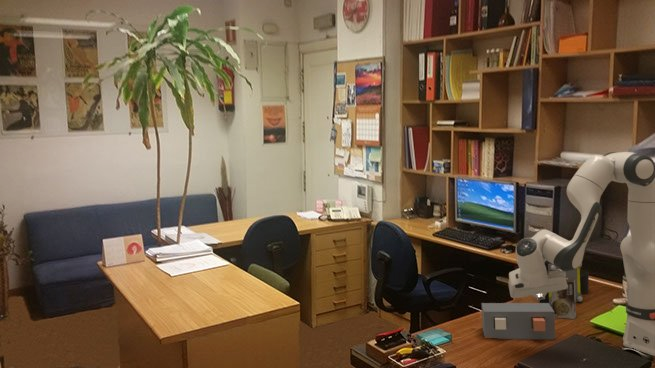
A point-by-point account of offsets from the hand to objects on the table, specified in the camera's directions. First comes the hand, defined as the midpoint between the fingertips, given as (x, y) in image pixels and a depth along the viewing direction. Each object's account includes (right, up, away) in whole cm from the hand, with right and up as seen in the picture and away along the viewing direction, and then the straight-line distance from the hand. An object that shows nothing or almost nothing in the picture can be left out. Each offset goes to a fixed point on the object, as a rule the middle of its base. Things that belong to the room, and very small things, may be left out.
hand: (540, 298), depth 204 cm
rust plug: (+2, -13, +8) cm, 15 cm away
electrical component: (+28, -12, +47) cm, 56 cm away
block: (-4, -17, +12) cm, 22 cm away
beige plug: (-12, -13, +12) cm, 21 cm away
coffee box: (+22, -14, +30) cm, 39 cm away
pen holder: (+41, -10, +60) cm, 73 cm away
